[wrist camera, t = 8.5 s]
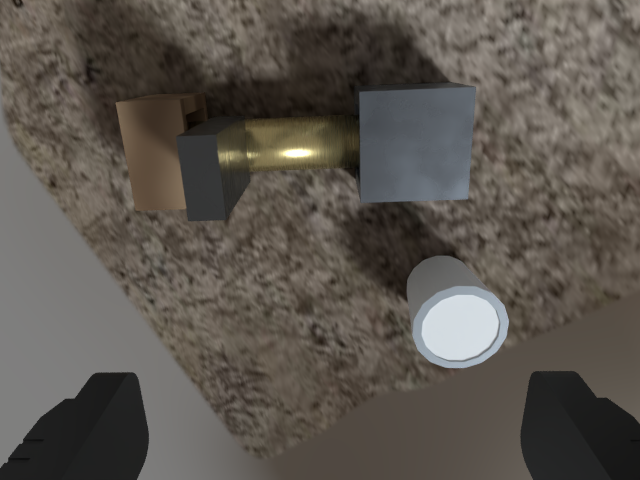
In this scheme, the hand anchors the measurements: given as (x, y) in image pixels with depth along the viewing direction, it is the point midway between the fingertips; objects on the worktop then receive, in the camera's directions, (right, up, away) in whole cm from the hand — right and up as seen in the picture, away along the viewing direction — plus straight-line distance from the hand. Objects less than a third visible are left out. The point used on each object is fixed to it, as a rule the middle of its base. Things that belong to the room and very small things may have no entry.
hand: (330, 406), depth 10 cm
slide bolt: (-4, +11, +25) cm, 28 cm away
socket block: (-11, +11, +27) cm, 31 cm away
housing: (+6, +12, +26) cm, 29 cm away
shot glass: (+10, 0, +31) cm, 32 cm away
